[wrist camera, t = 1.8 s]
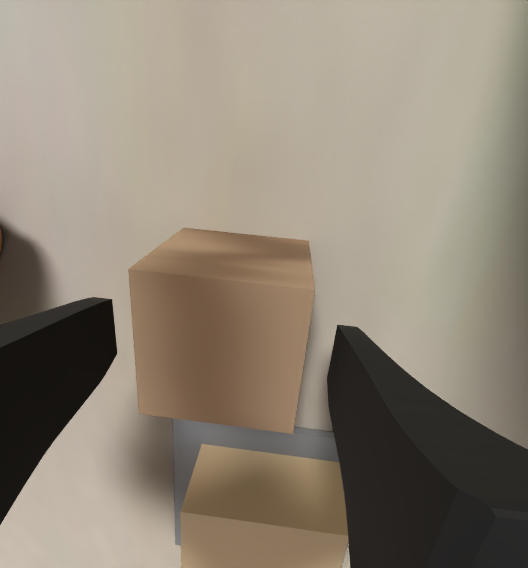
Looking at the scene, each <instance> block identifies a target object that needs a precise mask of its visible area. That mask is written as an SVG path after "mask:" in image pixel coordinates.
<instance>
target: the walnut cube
mask: <svg viewBox="0 0 528 568" xmlns="http://www.w3.org/2000/svg"><path fill="white" fill-rule="evenodd" d="M129 283H130V297H131V311H132V324H133V338H134V352H135V366H136V380H137V393H138V407H139V414H144V415H152V416H160V417H167V418H175V419H182V420H190V421H198V422H205V423H213V424H221V425H228V426H236V427H244V428H251V429H259V430H267V431H274V432H282V433H290V434H293V430H294V424H295V418H296V411H297V405H298V398H299V392H300V385H301V379H302V372H303V366H304V359H305V353H306V346H307V340H308V333H309V327H310V320H311V314H312V307H313V301H314V294H315V285H314V277H313V270H312V262H311V255H310V248H309V241H305V240H295V239H286V238H276V237H267V236H257V235H247V234H238V233H228V232H219V231H209V230H199V229H190V228H183V229H182V230H180V231H179V232H178V233H176V234H175V235H174V236H172V237H171V238H170V239H168V240H167V241H166V242H164V243H163V244H162V245H160V246H159V247H158V248H156V249H155V250H153V251H152V252H151V253H149V254H148V255H147V256H145V257H144V258H143V259H141V260H140V261H139V262H137V263H136V264H135V265H133V266H132V267H131V268H129Z"/></svg>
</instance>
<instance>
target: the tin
mask: <svg viewBox="0 0 528 568" xmlns="http://www.w3.org/2000/svg"><path fill="white" fill-rule="evenodd" d="M1 249H2V234H1V229H0V253H1Z"/></svg>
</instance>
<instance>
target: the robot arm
mask: <svg viewBox="0 0 528 568" xmlns="http://www.w3.org/2000/svg"><path fill="white" fill-rule="evenodd" d="M116 355H117V346H116V336H115V326H114V315H113V305H112V299H105V298H96V297H92V298H87V299H83V300H79V301H75V302H72V303H69V304H66V305H62V306H59V307H56V308H53V309H50V310H47V311H44V312H41V313H38V314H35V315H32V316H29V317H26V318H23V319H19V320H16V321H13V322H9V323H6V324H3V325H0V525H1V523H2V521H3V520H4V518H5V516H6V515H7V513H8V511H9V510H10V508H11V506H12V505H13V503H14V501H15V500H16V498H17V496H18V495H19V493H20V492H21V490H22V488H23V487H24V485H25V483H26V482H27V480H28V479H29V477H30V476H31V474H32V473H33V471H34V469H35V468H36V466H37V465H38V463H39V462H40V460H41V459H42V457H43V455H44V454H45V452H46V451H47V450H48V448H49V447H50V446H51V444H52V443H53V441H54V440H55V439H56V437H57V436H58V435H59V434H60V432H61V431H62V430H63V429H64V427H65V426H66V425H67V424H68V422H69V421H70V420H71V419H72V417H73V416H74V415H75V414H76V412H77V411H78V410H79V409H80V407H81V406H82V405H83V404H84V402H85V401H86V400H87V398H88V397H89V396H90V395H91V393H92V392H93V391H94V389H95V388H96V387H97V386H98V384H99V383H100V382H101V380H102V379H103V377H104V376H105V374H106V372H107V371H108V369H109V367H110V366H111V364H112V362H113V360H114V358H115V357H116ZM327 383H328V402H329V411H330V416H331V422H332V427H333V432H334V438H335V443H336V448H337V453H338V458H339V464H340V469H341V474H342V480H343V487H344V495H345V506H346V517H347V528H348V540H349V553H350V566H351V568H528V450H527V449H525V448H523V447H521V446H519V445H517V444H516V443H514V442H512V441H510V440H508V439H506V438H504V437H503V436H501V435H499V434H497V433H495V432H494V431H492V430H490V429H488V428H487V427H485V426H483V425H482V424H480V423H478V422H477V421H475V420H473V419H472V418H470V417H468V416H467V415H465V414H463V413H462V412H460V411H459V410H457V409H456V408H454V407H453V406H451V405H450V404H448V403H447V402H445V401H444V400H442V399H441V398H440V397H438V396H437V395H435V394H434V393H432V392H431V391H430V390H428V389H427V388H426V387H424V386H423V385H422V384H420V383H419V382H418V381H417V380H416V379H414V378H413V377H412V376H411V375H409V374H408V373H407V372H406V371H405V370H403V369H402V368H401V367H400V366H399V365H398V364H397V363H395V362H394V361H393V360H392V359H391V358H390V357H389V356H388V355H387V354H386V353H385V352H383V351H382V350H381V349H380V348H379V347H378V346H377V345H376V344H375V343H374V342H373V341H372V340H371V339H370V338H369V337H368V336H367V335H366V334H365V333H364V332H363V331H361V330H360V329H359V328H358V327H353V326H344V325H337V330H336V335H335V340H334V346H333V351H332V356H331V362H330V367H329V372H328V377H327Z"/></svg>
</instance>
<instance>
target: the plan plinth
mask: <svg viewBox="0 0 528 568" xmlns="http://www.w3.org/2000/svg"><path fill="white" fill-rule="evenodd" d="M172 421H173V461H174V502H175V543H176V545H181V568H341V567H342V563H343V560H344V556H345V552H346V549H347V545H348V542H349V540H348V528H347V517H346V506H345V495H344V487H343V480H342V474H341V469H340V464H339V458H338V453H337V448H336V443H335V438H334V432H328V431H320V430H313V429H305V428H297V427H294V430H293V434H290V433H282V432H274V431H267V430H259V429H251V428H244V427H236V426H228V425H221V424H213V423H205V422H198V421H190V420H182V419H175V418H172Z"/></svg>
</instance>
